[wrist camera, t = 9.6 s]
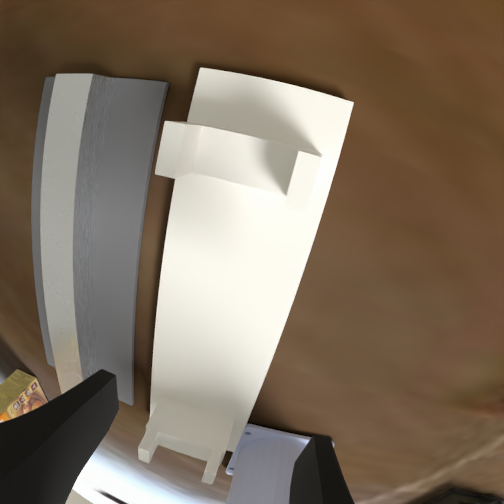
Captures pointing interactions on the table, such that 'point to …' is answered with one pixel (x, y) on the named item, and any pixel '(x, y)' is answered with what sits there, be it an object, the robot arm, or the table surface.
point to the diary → (463, 498)
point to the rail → (72, 218)
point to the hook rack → (233, 250)
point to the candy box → (20, 395)
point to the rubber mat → (110, 221)
